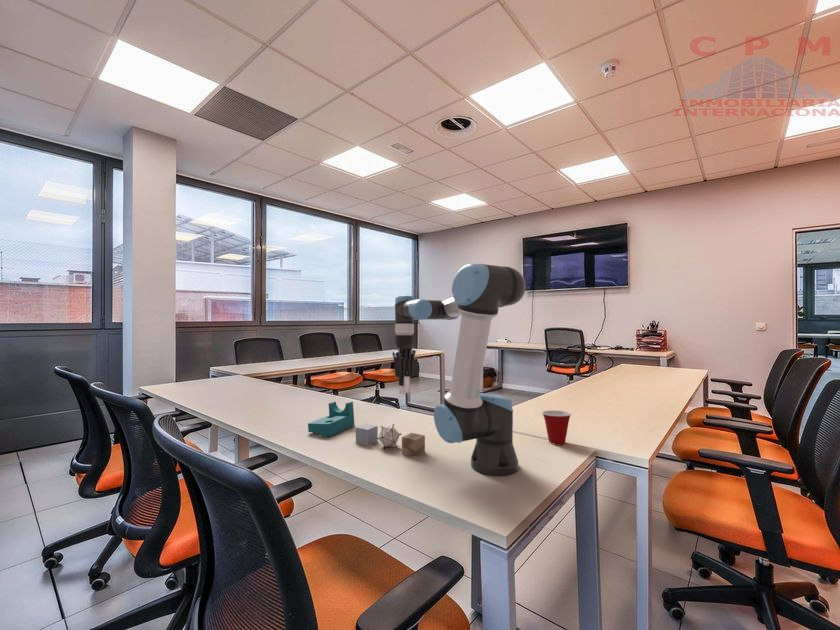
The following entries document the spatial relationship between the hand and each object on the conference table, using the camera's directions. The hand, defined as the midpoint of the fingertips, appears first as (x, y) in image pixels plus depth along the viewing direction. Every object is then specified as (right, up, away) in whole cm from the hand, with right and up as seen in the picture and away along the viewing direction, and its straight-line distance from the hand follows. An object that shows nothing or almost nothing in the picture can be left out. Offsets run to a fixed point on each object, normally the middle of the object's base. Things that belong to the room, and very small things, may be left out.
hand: (404, 393), depth 145 cm
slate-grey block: (-15, -19, -3) cm, 24 cm away
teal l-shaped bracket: (-32, -19, +13) cm, 39 cm away
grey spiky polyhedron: (-5, -19, -9) cm, 21 cm away
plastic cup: (+59, -19, -4) cm, 62 cm away
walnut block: (+4, -18, -15) cm, 24 cm away
